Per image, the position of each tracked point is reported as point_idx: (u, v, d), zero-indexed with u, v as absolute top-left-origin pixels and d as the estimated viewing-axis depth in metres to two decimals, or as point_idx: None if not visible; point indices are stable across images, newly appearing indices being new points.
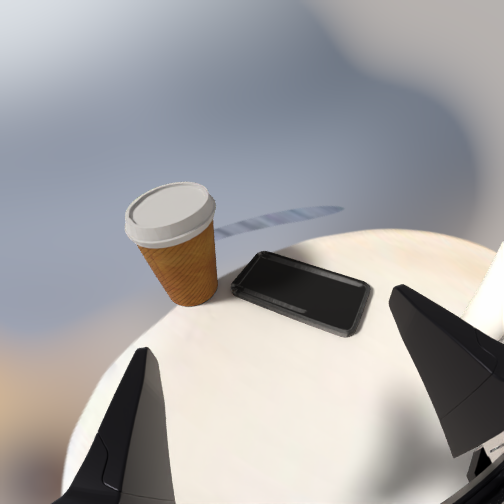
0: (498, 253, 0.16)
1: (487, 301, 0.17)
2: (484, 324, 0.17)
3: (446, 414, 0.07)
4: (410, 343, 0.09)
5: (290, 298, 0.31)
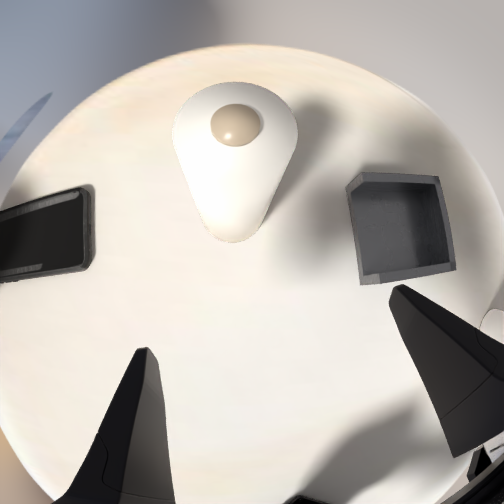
0: None
1: (198, 199, 0.14)
2: (215, 218, 0.16)
3: (446, 414, 0.07)
4: (410, 343, 0.09)
5: (26, 258, 0.21)
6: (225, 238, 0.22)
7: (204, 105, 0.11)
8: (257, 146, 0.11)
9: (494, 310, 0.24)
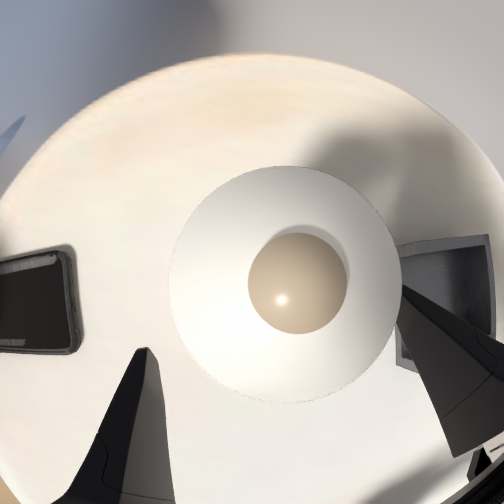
0: None
1: None
2: None
3: (446, 414, 0.07)
4: (410, 343, 0.09)
5: (7, 329, 0.16)
6: None
7: (231, 228, 0.06)
8: (338, 326, 0.06)
9: None
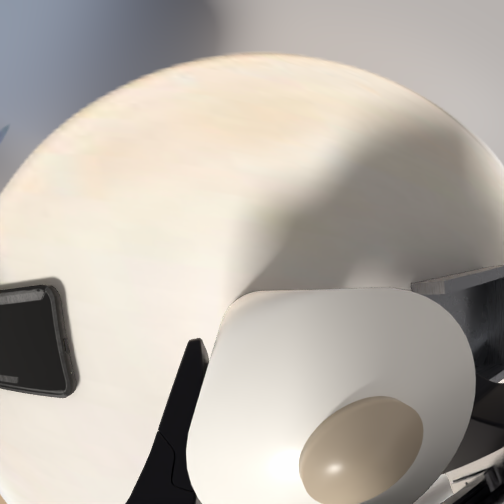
0: None
1: None
2: None
3: None
4: None
5: None
6: None
7: (278, 400, 0.03)
8: (397, 478, 0.03)
9: None
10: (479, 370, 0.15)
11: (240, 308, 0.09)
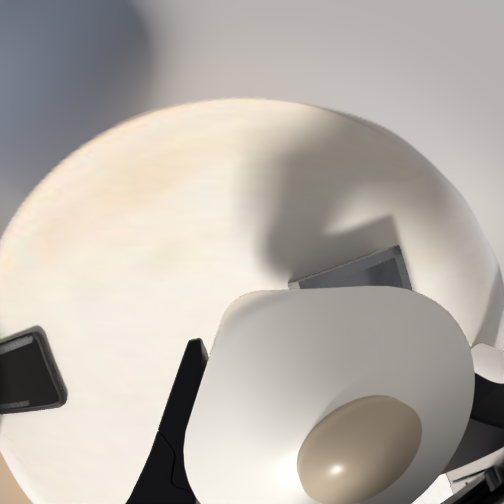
0: None
1: None
2: None
3: None
4: None
5: (14, 395, 0.19)
6: None
7: (275, 399, 0.03)
8: (396, 477, 0.03)
9: (477, 347, 0.23)
10: None
11: (239, 307, 0.09)
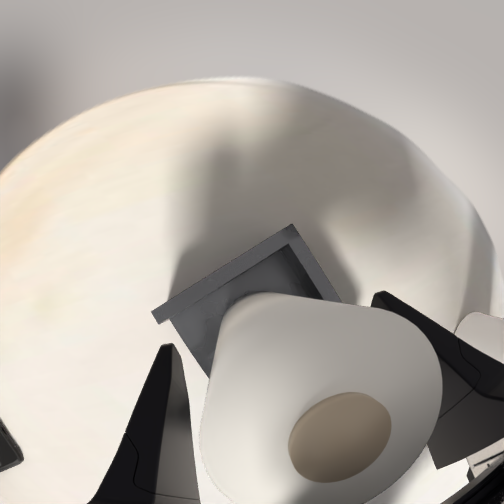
0: None
1: None
2: None
3: None
4: None
5: None
6: None
7: (271, 393, 0.04)
8: (373, 462, 0.04)
9: (466, 321, 0.18)
10: None
11: (240, 311, 0.10)
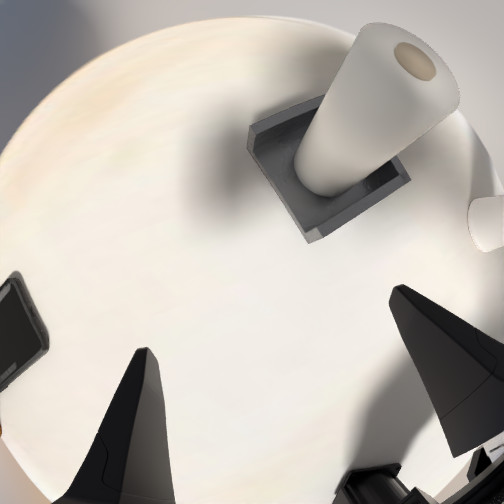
0: (356, 53, 0.08)
1: (348, 131, 0.12)
2: (350, 158, 0.14)
3: (446, 414, 0.07)
4: (410, 343, 0.09)
5: (2, 363, 0.18)
6: (328, 189, 0.19)
7: (381, 36, 0.08)
8: (436, 85, 0.08)
9: (476, 200, 0.22)
10: None
11: None
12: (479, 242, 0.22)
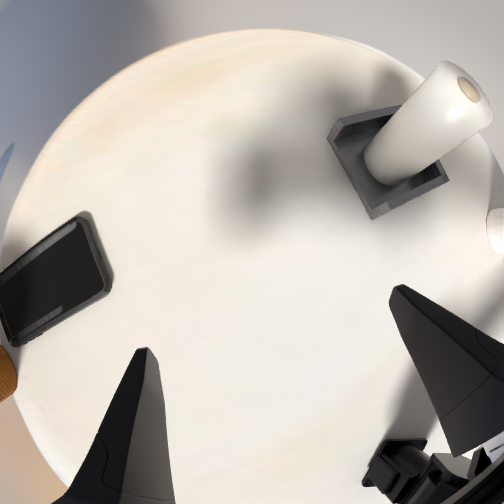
0: (436, 78, 0.12)
1: (423, 129, 0.16)
2: (419, 150, 0.17)
3: (446, 414, 0.07)
4: (410, 343, 0.09)
5: (43, 307, 0.21)
6: (391, 178, 0.23)
7: (450, 71, 0.12)
8: (480, 106, 0.12)
9: (493, 210, 0.26)
10: None
11: None
12: (495, 243, 0.25)
